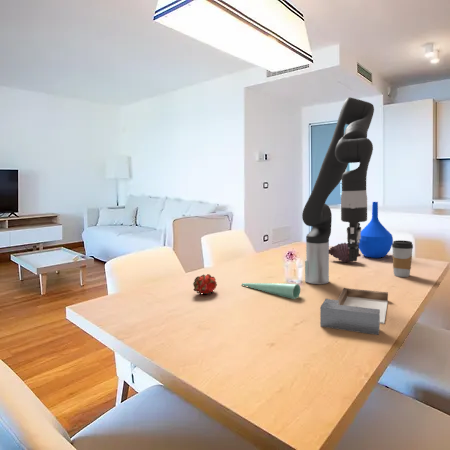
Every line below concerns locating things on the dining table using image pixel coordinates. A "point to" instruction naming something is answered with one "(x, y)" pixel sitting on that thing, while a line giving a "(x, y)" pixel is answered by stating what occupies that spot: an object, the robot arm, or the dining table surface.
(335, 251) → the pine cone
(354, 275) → the dining table surface
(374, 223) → the vase
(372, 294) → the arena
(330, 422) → the dining table surface
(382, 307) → the mat
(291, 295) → the mint green cone
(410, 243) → the coffee cup
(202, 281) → the dragon fruit
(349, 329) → the bracket
